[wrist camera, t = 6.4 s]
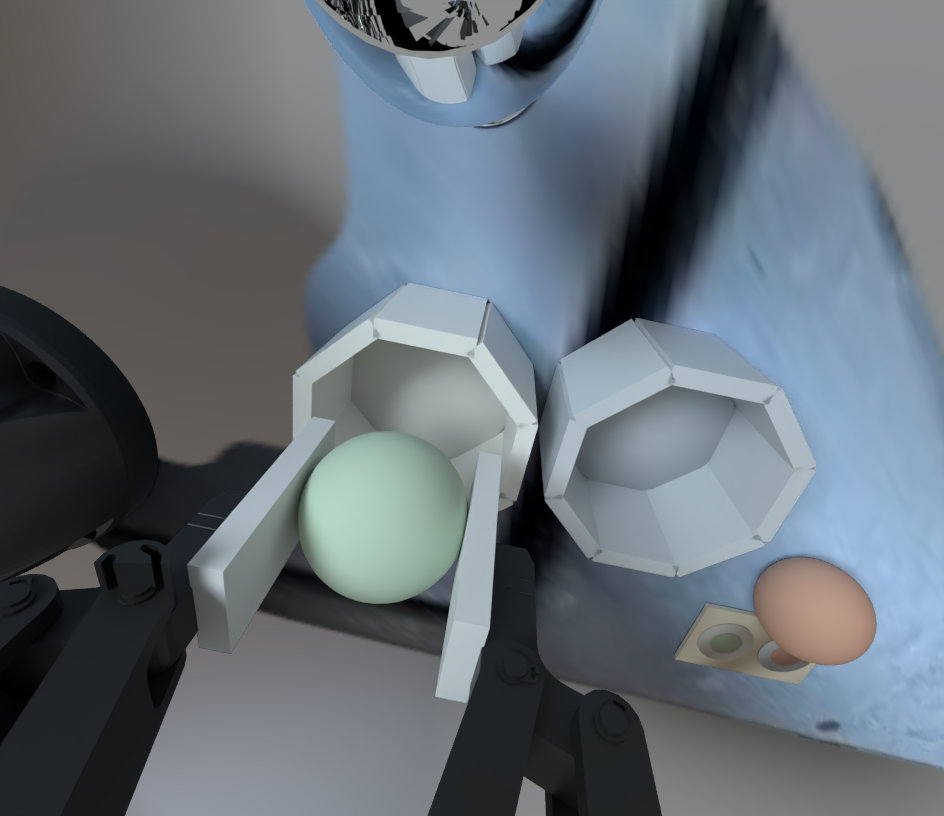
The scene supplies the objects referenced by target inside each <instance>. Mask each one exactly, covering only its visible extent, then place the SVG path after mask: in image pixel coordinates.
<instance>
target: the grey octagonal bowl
mask: <svg viewBox="0 0 944 816" xmlns="http://www.w3.org/2000/svg"><path fill="white" fill-rule="evenodd" d="M560 361H561V364H560V363H557V366H556V370H555V373H554V376H553V380H552V383H551V387H550V390H549V394H548V397H547V400H546V404H545V407H544V411H543V414H542V417H541V421H540V424H539V439H540V451H541V463H542V475H543V488H544V497H545V502H546V503H547V504H548V506H549V507H550V508H551V510H552V511H553V512H554V514H555V515H556V516H557V518H558V519H559V520H560V522H561V523H562V524H563V526H564V527H565V528H566V530H567V531H568V533H569V534H570V535H571V537H572V538H573V539H574V541H575V542H576V543H577V545H578V546H579V547H580V549H581V550H582V551H583V553H584V554H585V555H586V557H587V558H591V559H592V561H595V562H599V563H604V564H609V565H614V566H619V567H624V568H629V569H634V570H639V571H643V572H648V573H653V574H658V575H663V576H668V577H673V578H674V576H675V574H677V575H678V577H681V576H684V575H686V574H689V573H692V572H695V571H697V570H700V569H703V568H706V567H708V566H711V565H714V564H717V563H719V562H722V561H725V560H728V559H730V558H733V557H736V556H739V555H741V554H744V553H747V552H750V551H752V550H755V549H758V548H761V547H763V546H765V545H764V543H763V542H768V543H769V542H770V541H771V539H772V538H773V536H774V535H775V533H776V532H777V530H778V529H779V527H780V526H781V524H782V523H783V521H784V519H785V518H786V516H787V515H788V513H789V512H790V510H791V509H792V507H793V506H794V504H795V503H796V501H797V500H798V498H799V497H800V495H801V494H802V492H803V490H804V489H805V487H806V486H807V484H808V483H809V481H810V480H811V478H812V477H813V475H814V474H815V472H816V470H815V469H814V468H813V467H816V466H817V464H816V462H815V460H814V458H813V455H812V453H811V451H810V449H809V446H808V444H807V442H806V440H805V437H804V435H803V433H802V431H801V428H800V426H799V424H798V421H797V419H796V417H795V415H794V412H793V410H792V408H791V406H790V403H789V401H788V399H787V397H786V394H785V392H784V390H783V389H782V388H781V387H779V386H778V385H777V384H776V383H775V382H773V381H772V380H771V379H770V378H768V377H767V376H766V375H765V374H764V373H762V372H761V371H760V370H759V369H757V368H756V367H755V366H754V365H752V364H751V363H750V362H749V361H748V360H746V359H745V358H744V357H743V356H741V355H740V354H739V353H738V352H737V351H735V350H734V349H733V348H732V347H730V346H729V345H728V344H727V343H725V342H724V341H723V340H722V339H721V338H719V337H718V336H717V335H715V334H711V333H706V332H702V331H697V330H692V329H687V328H682V327H678V326H673V325H668V324H663V323H658V322H653V321H649V320H644V319H639V318H636V320H635V323H634V322H633V320H632V319H630V320H628V321H627V322H625V323H623V324H621V325H620V326H618V327H616V328H614V329H613V330H611V331H609V332H607V333H606V334H604V335H602V336H600V337H599V338H597V339H595V340H594V341H592V342H590V343H588V344H587V345H585V346H583V347H581V348H580V349H578V350H576V351H574V352H573V353H571V354H569V355H567V356H566V357H564V358H562V359H560ZM762 541H763V542H762Z"/></svg>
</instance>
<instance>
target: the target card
mask: <svg viewBox="0 0 944 816" xmlns="http://www.w3.org/2000/svg"><path fill="white" fill-rule="evenodd" d="M674 656H675V659H676V660H680V661H685V662H690V663H695V664H700V665H705V666H710V667H714V668H719V669H724V670H729V671H734V672H739V673H744V674H749V675H754V676H759V677H764V678H768V679H773V680H778V681H783V682H788V683H793V684H799V683H800V682H801V681H802V680H803V679H804V678H805V676H806V675H807V674H808V673H809V672H810V671H811V669H812V668H813V667H814V666H815V665H816V664H814V663H810V662H807V661H804V660H801V659H799V658H797V657H795V656H793V655H791V654H789V653H788V652H786V651H785V650H783V649H782V648H781V647H779V646H778V645H777V644H776V643H775V642H774V641H773V640H772V639H771V638H770V637H769V636H768V635H767V633H766V632H765V631H764V629H763V628H762V626H761V624H760V622H759V620H758V618H757V616H756V613H754V612H749V611H744V610H739V609H735V608H730V607H725V606H720V605H715V604H710V603H706V605H705V606H704V608H703V610H702V611H701V613H700V614H699V616H698V618H697V619H696V621H695V622H694V624H693V626H692V627H691V629H690V631H689V632H688V634H687V635H686V637H685V639H684V640H683V642H682V643H681V645H680V647H679V648H678V650H677V651H676V653H675V655H674Z"/></svg>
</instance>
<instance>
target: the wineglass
mask: <svg viewBox="0 0 944 816" xmlns="http://www.w3.org/2000/svg"><path fill="white" fill-rule="evenodd" d="M304 1H305V4H306V6H307V8H308V9H309V11H310V12H311V14H312V16H313V17H314V19H315V21H316V22H317V24H318V25H319V27H320V29H321V30H322V32H323V33H324V35H325V36H326V38H327V39H328V40H329V42H330V43H331V45H332V46H333V48H334V49H335V51H336V52H337V53H338V55H339V56H340V57H341V59H342V60H343V61H344V62H345V64H346V65H347V66H348V67H349V68H350V69H351V70H352V71H353V72H354V73H355V74H356V75H357V77H358V78H359V79H360V80H361V81H362V82H363V83H364V84H365V85H366V86H367V87H368V88H369V89H371V90H372V91H373V92H374V93H376V94H377V95H378V96H379V97H381V98H382V99H383V100H384V101H386V102H387V103H389V104H391V105H392V106H394V107H396V108H397V109H399V110H400V111H402V112H404V113H405V114H407V115H409V116H412V117H414V118H416V119H419V120H422V121H425V122H428V123H432V124H436V125H440V126H448V127H474V126H480V127H491V126H495V125H499V124H504V123H506V122H507V121H509V120H511V119H513V118H515V117H517V116H518V115H519V114H520V113H521V112H522V111H524V110H525V109H526V108H527V107H528V106H529V105H530V104H531V103H533V102H534V101H535V100H536V99H538V98H539V97H540V96H541V95H542V94H543V93H545V92H546V91H547V90H548V89H549V88H550V87H551V86H552V85H553V84H554V83H555V82H556V81H557V80H558V78H559V77H560V76H561V75H562V74H563V73H564V71H565V70H566V69H567V67H568V66H569V65H570V63H571V62H572V61H573V59H574V58H575V56H576V54H577V53H578V51H579V49H580V48H581V46H582V45H583V43H584V41H585V40H586V38H587V36H588V34H589V32H590V30H591V28H592V25H593V23H594V21H595V18H596V16H597V14H598V11H599V9H600V6H601V3H602V1H603V0H304Z"/></svg>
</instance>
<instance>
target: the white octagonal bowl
mask: <svg viewBox="0 0 944 816" xmlns="http://www.w3.org/2000/svg"><path fill="white" fill-rule="evenodd" d="M486 303H487V299H486V298H481V297H476V296H471V295H466V294H462V293H457V292H452V291H447V290H442V289H438V288H433V287H428V286H423V285H418V284H413V283H408V284H407V285H405V284H403V285H402V286H401V287H399V288H398V289H396V290H395V291H394V292H392V293H391V294H389V295H388V296H387V297H385V298H384V299H383V300H381V301H380V302H378V303H377V304H376V305H374V306H373V307H372V308H370V309H369V310H367V311H366V312H365V313H363V314H362V315H360V316H359V317H358V318H356V319H355V320H354V321H352V322H351V323H349V324H348V325H347V326H345V327H344V328H343V329H342V330H341V331H340V332H339V333H338V334H336V335H335V336H334V337H333V338H332V339H331V340H330V341H328V342H327V343H326V344H325V345H324V346H323V347H322V348H321V349H319V350H318V351H317V352H316V353H315V354H314V355H313V356H312V357H310V358H309V359H308V360H307V361H306V362H305V363H304V364H303V365H301V366H300V367H299V368H298V369H297V370H296V373H295V374H294V375H293V440H294V439H295V438H296V436H297V435H298V434H299V433H300V432H301V431H302V429H303V428H304V427H305V426H306V425H307V424H308V422H309V421H310V420H311V419H312V418H313V417H318V418H323V419H328V420H333V421H336V425H335V444H334V449H335V448H336V447H338V446H339V445H340V444H342V443H344V442H346V441H348V440H350V439H352V438H354V437H357V436H360V435H363V434H367V433H372V432H380V431H395V432H401V433H406V434H410V435H413V436H416V437H418V438H421V439H423V440H425V441H427V442H428V443H430V444H432V445H433V446H435V447H436V448H437V449H439V450H440V451H441V452H442V453H443V454H444V455H445V456H446V457H447V458H448V459H449V460H450V462H451V463H452V464H453V466H454V467H455V469H456V470H457V472H458V474H459V476H460V478H461V480H462V483H463V485H464V488H465V491H466V496H467V502H468V498H469V494H470V490H471V485H472V481H473V477H474V472H475V468H476V463H477V459H478V455H479V451H482V452H486V453H491V454H496V455H501V471H500V485H499V500H498V512H499V511H501V510H503V509H505V508H507V507H509V506H511V505H513V501H516V500H517V497H518V494H519V490H520V487H521V483H522V480H523V476H524V473H525V470H526V466H527V463H528V459H529V456H530V452H531V449H532V446H533V442H534V439H535V435H536V432H537V428H538V418H537V405H536V393H535V380H534V368H533V364H532V362H531V361H530V359H529V358H528V356H527V355H526V353H525V352H524V350H523V349H522V347H521V346H520V344H519V343H518V341H517V340H516V338H515V337H514V335H513V333H512V332H511V330H510V329H509V327H508V326H507V324H506V323H505V321H504V320H503V318H502V317H501V315H500V314H499V312H498V311H497V309H496V308H495V306H494V305H493V303H492V302H490V303H488V304H487V305H486Z"/></svg>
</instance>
